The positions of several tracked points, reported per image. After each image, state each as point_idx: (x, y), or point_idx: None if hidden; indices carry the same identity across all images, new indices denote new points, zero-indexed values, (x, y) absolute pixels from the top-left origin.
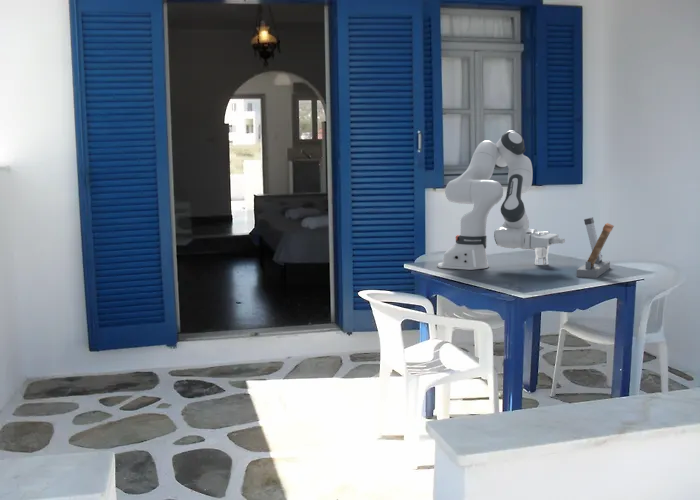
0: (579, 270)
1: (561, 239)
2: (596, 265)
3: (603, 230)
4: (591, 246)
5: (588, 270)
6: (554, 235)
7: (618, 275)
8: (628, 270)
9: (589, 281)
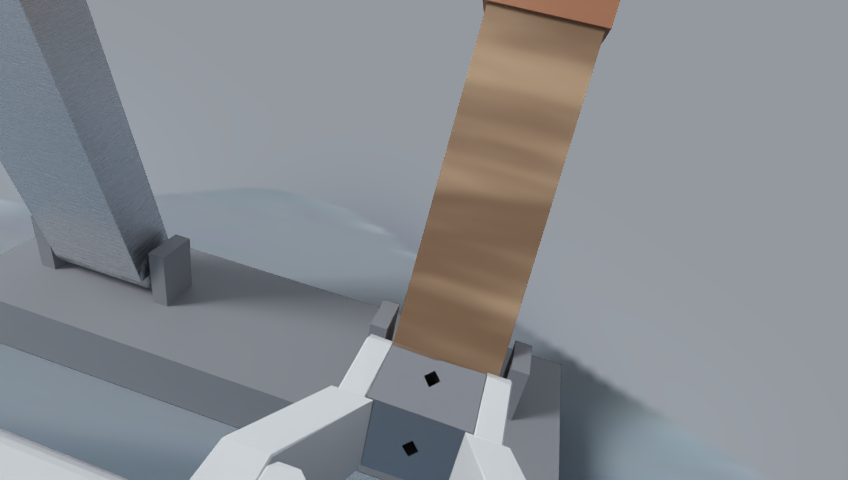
0: (556, 476)
1: (509, 401)
2: (286, 315)
3: (600, 38)
4: (104, 184)
5: (558, 411)
6: (48, 464)
7: (395, 285)
8: (209, 215)
9: (715, 472)
